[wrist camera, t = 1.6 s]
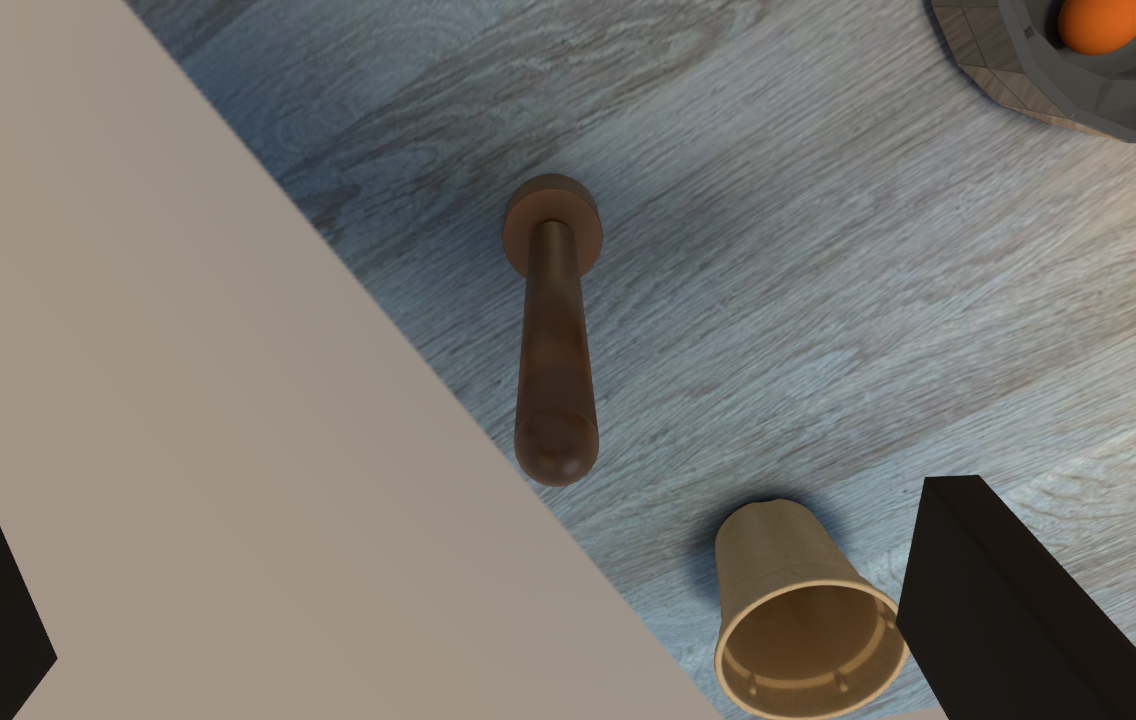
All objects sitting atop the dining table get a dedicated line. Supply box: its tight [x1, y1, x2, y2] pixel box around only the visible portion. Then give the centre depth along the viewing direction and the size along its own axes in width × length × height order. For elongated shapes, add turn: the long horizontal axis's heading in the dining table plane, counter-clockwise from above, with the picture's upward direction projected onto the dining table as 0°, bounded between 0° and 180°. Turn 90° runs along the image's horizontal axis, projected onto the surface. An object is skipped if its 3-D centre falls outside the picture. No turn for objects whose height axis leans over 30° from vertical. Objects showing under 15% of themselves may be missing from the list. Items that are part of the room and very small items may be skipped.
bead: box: [1058, 0, 1136, 55], centre depth 30 cm, size 3×3×3 cm
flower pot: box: [714, 499, 910, 720], centre depth 40 cm, size 9×9×9 cm
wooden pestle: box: [502, 174, 603, 487], centre depth 26 cm, size 4×4×21 cm
